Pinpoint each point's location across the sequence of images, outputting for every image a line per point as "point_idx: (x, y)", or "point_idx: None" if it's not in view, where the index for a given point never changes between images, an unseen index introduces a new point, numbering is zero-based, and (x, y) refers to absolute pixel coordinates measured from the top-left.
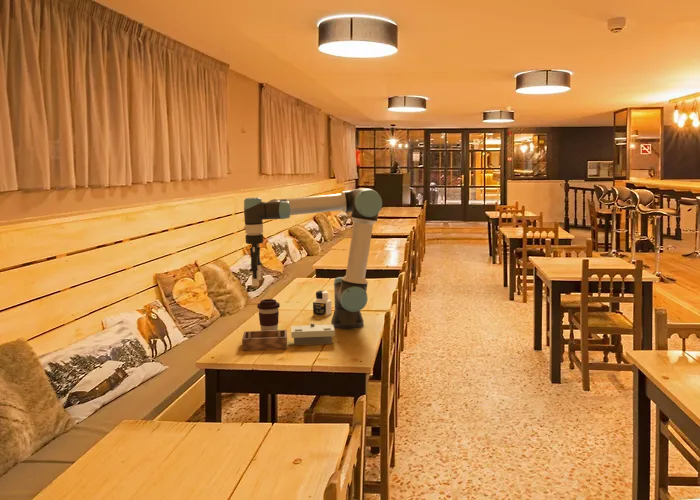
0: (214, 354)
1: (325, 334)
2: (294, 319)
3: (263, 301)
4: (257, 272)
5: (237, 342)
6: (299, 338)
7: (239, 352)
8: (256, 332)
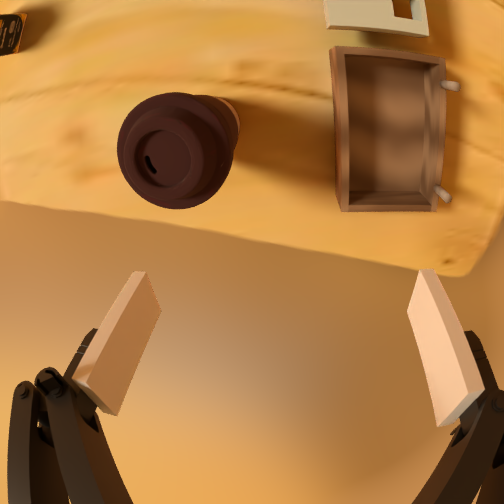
0: (427, 261)
1: None
2: (49, 89)
3: (187, 183)
4: (477, 375)
5: (326, 216)
6: None
7: None
8: (348, 166)
